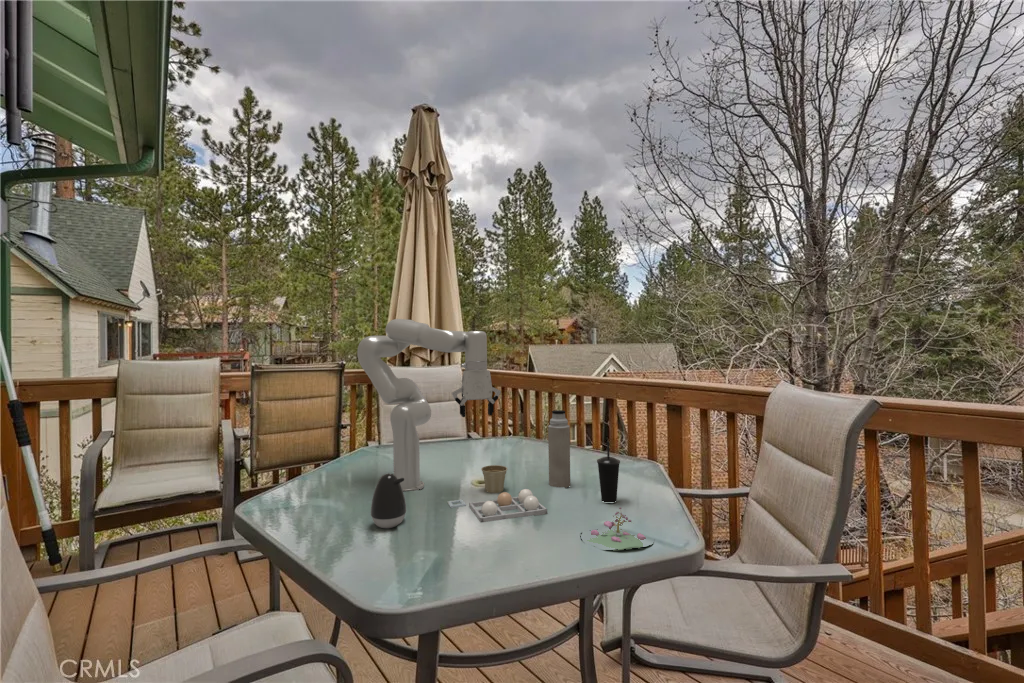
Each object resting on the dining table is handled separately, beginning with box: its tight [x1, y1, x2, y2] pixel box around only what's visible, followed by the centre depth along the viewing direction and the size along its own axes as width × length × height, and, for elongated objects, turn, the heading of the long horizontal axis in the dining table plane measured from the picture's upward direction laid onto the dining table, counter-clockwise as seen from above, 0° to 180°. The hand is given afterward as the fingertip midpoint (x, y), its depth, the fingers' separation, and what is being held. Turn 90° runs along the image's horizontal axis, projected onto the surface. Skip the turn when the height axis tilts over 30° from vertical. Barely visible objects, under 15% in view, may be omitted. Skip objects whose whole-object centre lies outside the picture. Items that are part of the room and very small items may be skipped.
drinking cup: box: [596, 441, 621, 502], centre depth 157 cm, size 8×8×20 cm
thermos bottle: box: [547, 409, 571, 489], centre depth 176 cm, size 8×8×28 cm
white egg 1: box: [481, 500, 498, 517], centre depth 143 cm, size 5×5×5 cm
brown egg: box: [496, 491, 512, 507], centre depth 151 cm, size 5×5×5 cm
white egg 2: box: [517, 488, 534, 504], centre depth 154 cm, size 5×5×5 cm
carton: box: [468, 496, 548, 523], centre depth 148 cm, size 21×14×2 cm
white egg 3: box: [524, 495, 540, 511], centre depth 147 cm, size 5×5×5 cm
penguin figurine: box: [370, 473, 407, 529], centre depth 139 cm, size 10×10×15 cm
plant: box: [587, 507, 646, 551], centre depth 132 cm, size 25×21×9 cm
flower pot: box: [480, 464, 508, 494], centre depth 169 cm, size 9×9×9 cm
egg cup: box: [447, 499, 467, 509], centre depth 154 cm, size 6×6×1 cm
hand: (476, 415), depth 164 cm, fingers open, 9 cm apart
